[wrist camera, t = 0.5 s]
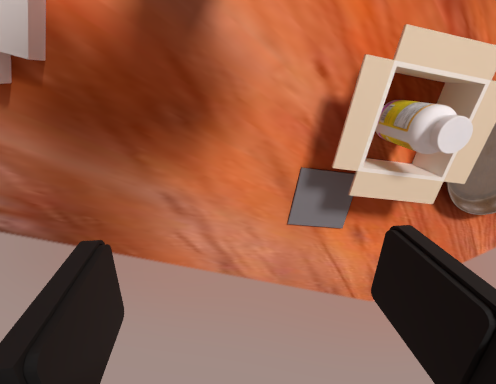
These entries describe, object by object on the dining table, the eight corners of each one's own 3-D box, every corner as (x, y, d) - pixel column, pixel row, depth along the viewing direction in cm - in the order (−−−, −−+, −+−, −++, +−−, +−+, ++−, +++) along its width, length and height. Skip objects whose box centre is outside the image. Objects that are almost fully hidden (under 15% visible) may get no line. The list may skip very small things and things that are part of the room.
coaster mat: (301, 167, 46) (301, 168, 46) (359, 174, 48) (360, 175, 48) (287, 222, 50) (288, 223, 50) (341, 227, 52) (342, 228, 52)
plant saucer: (472, 87, 45) (491, 88, 42) (563, 114, 49) (586, 117, 46) (415, 198, 52) (428, 206, 49) (498, 213, 56) (514, 221, 53)
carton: (349, 26, 38) (377, 17, 32) (482, 56, 42) (530, 53, 36) (309, 176, 47) (325, 192, 41) (423, 189, 51) (453, 206, 45)
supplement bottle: (410, 133, 46) (478, 153, 35) (373, 144, 46) (428, 168, 34) (410, 93, 43) (484, 101, 32) (371, 105, 43) (430, 116, 32)
